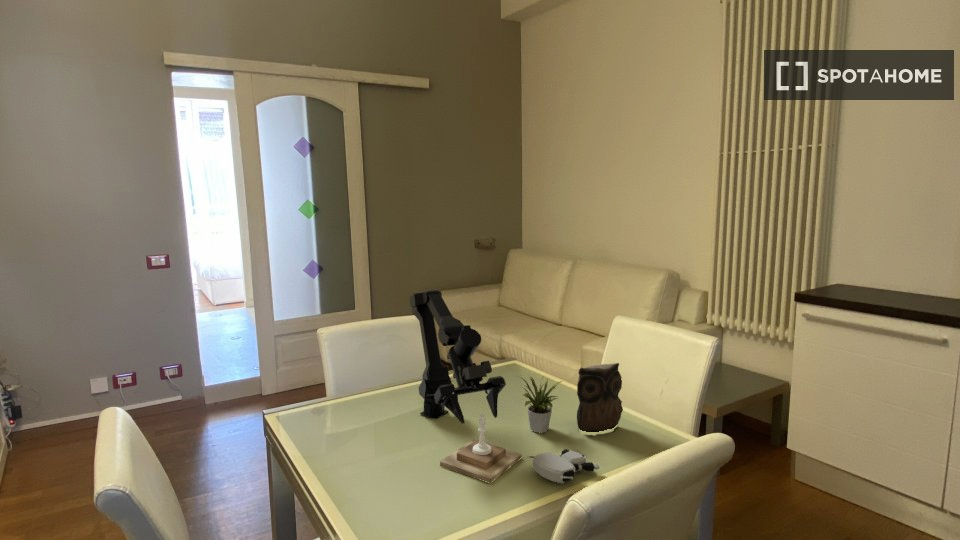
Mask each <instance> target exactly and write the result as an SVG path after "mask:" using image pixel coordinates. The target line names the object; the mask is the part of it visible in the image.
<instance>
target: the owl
mask: <svg viewBox="0 0 960 540" xmlns="http://www.w3.org/2000/svg"><path fill="white" fill-rule="evenodd" d="M619 365H620V363H619V362H615V363H609V364H608V363H605V364H595V365H590V366H586V367H580V368H579V369H578V381H577V385H576V386H577V387H576V389H577V392H576V395H577V398H578V401H579V403H578V404H579V405H578V409H577V411H576V422H577V423H576V424H577V428H578V430H579V429H580V430H582V431H586V432H599V431H604V430H607V429H612V428H614V427H615V426H616V425H617V424H618V425H619V422H620V421H621V417H622V413H623V411H624V408H623V405H622V403H623V401H622V400H621V399H620V396H619V393H620V391H621V390H622V388H623V387H622V385H623V380H622V375H621V373H620V371H619V367H620V366H619Z"/></svg>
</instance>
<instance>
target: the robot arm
mask: <svg viewBox="0 0 960 540" xmlns="http://www.w3.org/2000/svg"><path fill="white" fill-rule="evenodd" d="M442 295H443V294H442V291H441V290H439V289H428V290H425V291H420V292H413V293H412V295H411V296H409V306H410V308H411V310H412V314H413V315H414V316H415V318H416V319H417V320H418V321H419V328H420V334H421V342H422V347H423V352H424V354H423V355H424V360H425V361H424V362H425V367H424V370H423V372H422V380H421V382H420V384H419V386H418V394H419V396H420V397H422V398H423V411H421V412H420V413H419V414H420V415H421V416H423V417H428V418H431V419H434V420H437V419H439V418H441V417H443V416H445V415H446V414H448V413H449V412H450V413H452V414H453V416H454V417H455V418H456V419H457V420H458V421H459V422H460V423H461V425H465V417H464V414H463V411H462V408H461V405H460V402H459V396H460V395H466V394H473V393H478V392H484V393H485V394H487V395H486V396H485V398H486V400H487V403H488V406H489V408H490V410H491V411H490V412H491V414H492V415H493V417H494V419H496V418H497V417H498V398H499V394H500V393H501V391H503V389H504V388H505V387H506V386H507V383H506V379H505V378H504V377H503V376H502V375H499V376H492V377H489V378H488V379H487V380H486V382H483V383H481V382H482V381H483V380H484V378H487V377H488V375H487V374H491V373H492V371H493V370H492V368H493V367H492V365H491V362H490V360H482V361H481V362H480V364H478V365H477V364H476V362H474V361H473V359H472V356H474V354H475V352H476V351H477V349H478V348H479V347H480V344H481V342H482V336H481V334H480V333H479V332H478V331H477V330H475V329H474V328H472V327H471V325H470V324H467V325H464V323H463V322H462V321H461V320H460V319H458V318H457V317H454V316H453V314H452V313H451V311H450V309H449V307H448V306H447V304H446V301H445V300H444V299H443V297H442ZM435 322H436V323H435ZM436 324H437V326H438V333H437V329H436ZM439 343H441V345H442V346H443V347H450V346H451V347H450V348H448V351H447V356H446V359H447V360H449V361H450V364H451V368H452V371H453V374H452V378H453V379H455V383H456V384H457V387H455V385H454V384H453V381H452V380H451V376H450V372H449V368H448V366H446V365H444V364H443V363H442V360H441V353H440V348H439ZM445 408H447V409H445Z"/></svg>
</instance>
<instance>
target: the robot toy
mask: <svg viewBox="0 0 960 540" xmlns="http://www.w3.org/2000/svg"><path fill="white" fill-rule="evenodd" d="M581 453H582V452H577V451H574V450H571V449H567V448H565V449H563V450H562V451H561V455H558V454H556V453H551V452H544V453H539V454H536V455H535V456H534V455H533V456H532V455H526V456H525V458H532V469H533V470H534V471H535V472H536V473H537V474H538V475H539V476H540V477H543V478H544V479H546V480H548V481H551V482H553V483H556V482H557V484H559V483H561V484H564V483H566V482H569V481H572V480H574V479H575V477H576V476H575V475H576V473H578V472H577V471H580V472H582V471H585V472H594V470H599V469H600V468H601V467H600V466H599V464H597V463H593V462H587V455H584V454H581Z"/></svg>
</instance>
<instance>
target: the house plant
mask: <svg viewBox="0 0 960 540" xmlns="http://www.w3.org/2000/svg"><path fill="white" fill-rule="evenodd" d="M544 376H545V375H543V376H542V377H541V380H540V384H539V389H538V386H537V385H536V381H535V379H534V378H533V377H532V376H531V375H529V377H528V378H529V379H530V382H531V384H532V386H533V390H534V392H533V390H532V389H531V386H530V385H529V384H528V381H527V380H525V378H523V377H521V376H517V375H516V377H518V378H520V379H521V380H523V381H524V382H525V384H526V385H525V384H524V385H523V386H524V387H521V388H522V389H524V391H526V392H524V393H522V396H523V397H525V398H527V399H529V400H526V401H525V403H524V407H526V406H527V414H528V423H529V429H531V430H532V431H534V432H533V433H535V432H540V433H539V434H542V433H541V432H545V433H547V432H548V431H549V428H550V427H549V426H550V423H551V422H550V421H551V416H552V410H553V403H552V402H554V401H555V400H559V397H558V396H556V395H550V393H552V391H553V390H556V387H557V385H559V384H560V383H562V382H563V380H561V381H558V382H556V383H554V384H553V385H552V387H550V388H549V389H548V391H547V392H546V390H547V387H548V385H549V384H548V382H549V381H548V378H547V379H546V381H545V382H544V383H543V385H544V387H543V385H542V381H543V379H544ZM525 387H526V388H527V389H528V390H529V391H528V390H527V389H526V388H525ZM529 392H530V393H529ZM524 400H525V399H524V398H522V401H524ZM528 405H529V406H528ZM531 430H530V431H531ZM547 430H548V431H547ZM532 431H531V432H532ZM546 431H547V432H546Z"/></svg>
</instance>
